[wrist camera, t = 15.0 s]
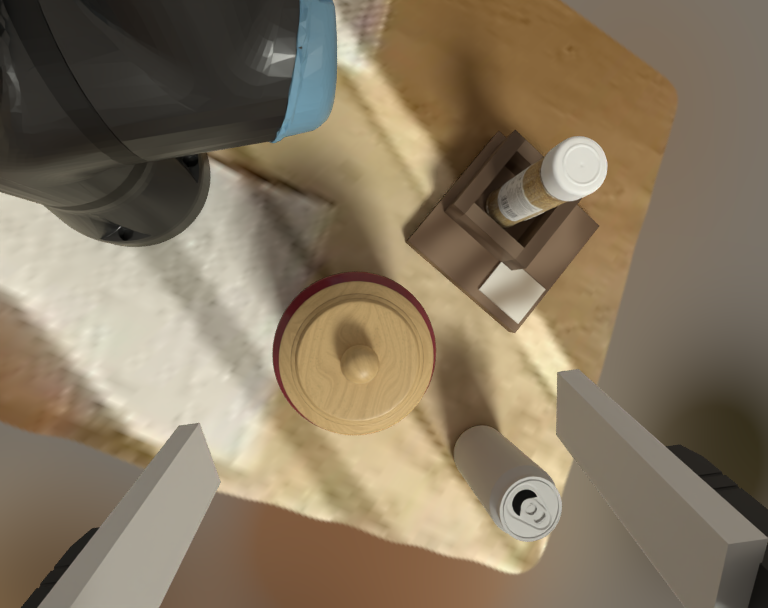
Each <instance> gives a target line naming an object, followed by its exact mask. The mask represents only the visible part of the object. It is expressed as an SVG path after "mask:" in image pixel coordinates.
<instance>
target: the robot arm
mask: <svg viewBox="0 0 768 608" xmlns="http://www.w3.org/2000/svg"><path fill="white" fill-rule="evenodd" d="M336 79H337V32H336V15H335V6H334V3H333V1H332V0H0V192H2V193H5V194H9V195H12V196H15V197H19V198H22V199H25V200H29V201H32V202H36V203H39V204H42V205H44V206H45V207H46V208H47V209H48V210H50V211H51V212H52V213H53V214H55V215H56V216H57V217H58V218H59V219H61V220H62V221H63V222H64V223H65V224H67V225H68V226H70V227H71V228H73V229H74V230H76V231H78V232H79V233H81V234H83V235H85V236H88V237H90V238H93V239H95V240H99V241H102V242H106V243H111V244H115V245H120V246H128V247H142V246H150V245H154V244H158V243H161V242H164V241H167V240H169V239H171V238H173V237H175V236H176V235H178V234H180V233H181V232H182V231H184V230H185V229H186V228H187V227H188V226H189V225H190V224H191V223H192V222H193V221H194V220H195V219H196V217H197V216H198V215H199V213H200V212H201V210H202V208H203V206H204V204H205V201H206V199H207V196H208V192H209V186H210V166H209V160H208V157H207V153H206V152H211V151H217V150H222V149H228V148H234V147H240V146H245V145H251V144H257V143H263V142H271V143H276V142H277V141H280V140H282V139H283V138H284V137H287V136H292V135H296V134H300V133H305V132H309V131H313V130H315V129H316V128H318V127H319V126H321V125H322V123H324V122H325V121H326V120H327V119H328V117H329V115H330V113H331V110H332V107H333V103H334V98H335V90H336ZM556 435H557V436H558V438H559V439H560V440H561V442H562V443H563V444H564V446H565V447H566V449H567V450H568V451H569V453H570V454H571V455H572V457H573V458H574V459H575V461H576V462H577V463H578V465H579V466H580V467H581V469H582V470H583V471H584V472H585V474H586V475H587V477H588V478H589V479H590V481H591V482H592V483H593V484H594V486H595V488H596V489H597V490H598V492H599V493H600V494H601V496H602V497H603V498H604V500H605V501H606V502H607V504H608V505H609V506H610V508H611V509H612V510H613V512H614V513H615V514H616V516H617V517H618V518H619V520H620V521H621V522H622V524H623V525H624V526H625V528H626V529H627V531H628V532H629V533H630V535H631V536H632V537H633V538H634V540H635V541H636V543H637V544H638V545H639V547H640V548H641V549H642V551H643V552H644V553H645V555H646V556H647V557H648V559H649V560H650V561H651V563H652V564H653V566H654V567H655V568H656V569H657V571H658V572H659V574H660V575H661V576H662V577H663V579H664V580H665V582H666V583H667V584H668V586H669V587H670V588H671V590H672V591H673V592H674V594H675V595H676V596H677V598H678V599H679V600H680V602H681V603H682V605H683V606H684V607H685V608H768V509H766V508H765V507H764V506H763V505H762V504H760V503H759V502H758V501H757V500H755V499H754V498H753V497H752V496H751V495H749V494H748V493H747V492H745V491H744V490H743V489H742V488H741V489H740V488H739V487H738V485H737V484H736V483H735V482H733V481H732V480H731V479H730V478H729V477H727V476H726V475H723V474H722V472H721V471H720V470H719V469H718V468H716V467H715V466H714V465H713V464H711V463H710V462H709V461H708V460H707V459H705V458H704V457H703V456H701V455H699V454H697V453H695V452H693V451H691V450H689V449H687V448H686V447H683V446H682V445H673V446H666V447H665V446H664V445H663V444H662V443H661V442H660V441H659V440H657V439H656V438H655V437H654V436H653V435H652V434H650V433H649V432H648V431H647V430H646V429H645V428H644V427H643V426H642V425H640V424H639V423H638V422H637V421H636V420H635V419H634V418H632V416H630V415H629V414H628V413H627V412H626V411H625V410H624V409H623V408H621V407H620V406H619V405H618V404H617V403H616V402H615V401H613V399H611V398H610V397H609V396H608V395H607V394H606V393H605V392H604V391H602V390H601V389H600V388H599V387H598V386H597V385H596V384H595V383H593V382H592V381H591V380H590V379H589V378H588V377H587V376H586V375H584V374H583V373H582V372H581V371H580V370H579V369H575V370H568V371H561V372H557V422H556ZM220 483H221V482H220V479H219V476H218V473H217V470H216V468H215V465H214V462H213V459H212V456H211V453H210V451H209V448H208V445H207V442H206V439H205V437H204V434H203V431H202V428H201V425H200V423H195V424H188V425H181V426H178V428H177V429H176V430H175V431H174V433H173V434H172V435H171V437H170V438H169V439H168V440H167V442H166V443H165V444H164V446H163V447H162V448H161V449H160V451H159V452H158V453H157V455H156V456H155V457H154V458H153V460H152V461H151V462H150V464H149V465H148V466H147V467H146V469H145V470H144V471H143V473H142V474H141V475H140V476H139V478H138V479H137V480H136V482H135V483H134V484H133V485H132V487H131V488H130V489H129V491H128V492H127V493H126V494H125V496H124V497H123V498H122V500H121V501H120V502H119V503H118V505H117V506H116V507H115V509H114V510H113V511H112V512H111V514H110V515H109V516H108V518H107V519H106V520H105V521H104V523H103V524H102V525H101V527H99V528H92V529H91V530H90V531H88V532H87V533H86V534H85V535H84V536H83V537H82V538H80V539H79V540H78V541H77V542H76V543H74V544H73V545H72V546H71V547H70V548H69V550H68V551H67V552H66V553H65V554H64V555H63V557H62V558H61V559H60V560H59V562H58V563H57V564H56V565H55V567H54V570H53V571H50V573H49V574H48V575H47V577H46V578H45V579H44V580H43V581H42V582H41V584H40V587H39V588H37V589H36V590H35V591H34V592H33V593H32V595H31V596H30V597H29V598H28V600H27V601H26V602H25V603H24V604H23V606H22V607H21V608H159V606H160V604H161V602H162V600H163V598H164V596H165V594H166V592H167V590H168V588H169V586H170V584H171V582H172V580H173V578H174V576H175V574H176V572H177V570H178V568H179V566H180V564H181V562H182V560H183V557H184V556H185V554H186V552H187V549H188V548H189V546H190V543H191V541H192V539H193V537H194V535H195V533H196V531H197V529H198V527H199V525H200V523H201V521H202V519H203V517H204V515H205V513H206V511H207V509H208V507H209V505H210V503H211V501H212V499H213V497H214V495H215V493H216V491H217V489H218V487H219V485H220Z"/></svg>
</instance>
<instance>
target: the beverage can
mask: <svg viewBox="0 0 768 608" xmlns="http://www.w3.org/2000/svg"><path fill="white" fill-rule="evenodd" d="M454 461H455V464H456V466H457V468H458V470H459V471H460V473H461V474H462V476H463V477H464V479H465V480H466V482H467V483H468V484H469V486H470V487H471V489H472V490H473V492H474V493H475V495H476V496H477V498H478V499H479V500H480V502H481V503H482V505H483V506H484V508H485V509H486V511H487V512H488V514H489V515H490V516H491V518H492V519H493V521H494V522H495V524H496V525H497V526H498V527H499V528H500V529H501V530H502V531H504V532H506V533H508V534H509V535H511V536H512V537H513V538H515V539H517V540H520V541H526V542H530V541H536V540H539V539H541V538H543V537H545V536H547V535H548V534H549V533H550V532H551V531H552V530H553V529H554V528H555V526H556V525H557V523H558V521H559V519H560V515H561V511H562V501H561V497H560V494H559V492H558V490H557V488H556V487H555V484H554V482H553V480H552V479H551V477H550V476H549V475H548V474H547V473H546V472H545V471H544V470H543V469H542V468H540V467H539V466H538V465H537V464H536V463H535V462H533V461H532V460H531V459H530V458H529V457H528V456H526V455H525V454H524V453H523V452H522V451H521V450H519V449H518V448H517V447H516V446H515V445H514V444H512V443H511V442H510V441H509V440H508V439H507V438H505V437H504V436H503V435H502V434H501V433H500V432H498V431H497V430H496V429H494V428H492V427H489V426H484V425H479V426H475V427H471V428H469V429H468V430H466V431H465V432H464V433H462V434H461V436H460V437H459V438H458V440H457V442H456V444H455V448H454Z"/></svg>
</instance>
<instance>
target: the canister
mask: <svg viewBox="0 0 768 608" xmlns="http://www.w3.org/2000/svg"><path fill="white" fill-rule="evenodd" d="M435 361H436V342H435V336H434V331H433V328H432V325H431V322H430V320H429V317H428V315H427V313H426V312H425V310H424V308H423V307H422V305H421V304H420V303H419V301H418V300H417V299H416V298H415V297H414V296H413V295H412V294H411V293H410V292H409V291H408V290H407V289H405V288H404V287H403V286H401V285H400V284H398V283H396V282H395V281H393V280H391V279H388V278H386V277H384V276H381V275H377V274H373V273H368V272H344V273H338V274H334V275H331V276H328V277H325V278H323V279H321V280H319V281H316V282H315V283H313V284H311V285H310V286H308V287H307V288H306V289H304V290H303V291H302V292H301V293H300V294H299V295H298V296H296V297H295V299H294V300H293V301H292V302H291V303H290V305H289V306H288V307H287V309H286V310H285V312H284V313H283V315H282V317H281V319H280V322H279V324H278V326H277V329H276V333H275V337H274V342H273V367H274V372H275V376H276V379H277V382H278V385H279V387H280V389H281V391H282V393H283V395H284V396H285V398H286V400H287V401H288V402H289V404H290V405H291V406H292V407H293V408H294V409H295V411H297V412H298V413H299V414H300V415H301V416H302V417H303V418H305V419H306V420H308V421H309V422H311V423H312V424H314V425H316V426H318V427H320V428H323V429H325V430H328V431H331V432H334V433H338V434H344V435H365V434H371V433H375V432H379V431H381V430H384V429H386V428H389V427H391V426H392V425H394V424H396V423H397V422H399V421H400V420H402V419H403V418H404V417H406V416H407V415H408V414H409V413H410V412H411V411H412V410H413V409H414V408H415V406H416V405H417V404H418V403H419V401H420V400H421V398H422V397H423V395H424V393H425V392H426V390H427V388H428V386H429V383H430V381H431V378H432V375H433V372H434V367H435Z"/></svg>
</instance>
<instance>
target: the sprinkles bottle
mask: <svg viewBox="0 0 768 608" xmlns="http://www.w3.org/2000/svg"><path fill="white" fill-rule="evenodd" d="M606 173H607V160H606V156H605V154H604V152H603V150H602V148H601V147H600V146H599V145H598V144H597V143H596V142H595V141H593V140H592V139H590V138H587V137H583V136H575V137H571V138H568V139H566V140H564V141H563V142H561V143H560V144H558V145H557V146H555V147H554V148H552V149H551V150H550V151H549V152H548V153H547V154H546V156H545V157H543V158H542V159H541V160H539V161H538V162H536V163H534V164H532V165H531V166H529V167H528V168H527V169H525V170H524V171H522V172H521V173H519V174H518V175H516V176H515V177H514V178H512V179H511V180H509V181H508V182H506V183H505V184H504V185H503V186H502V187H500V188H498V189H496V190H494V191H493V192H492V193H490V195H489V196H488V198H487V200H486V204H485V211H486V214H487V215H488V216H490V217H491V218H492V219H493V220H494V221H495V222H496V223H497V224H498V225H499V226H501V227H502V228H509V227H512V226H514V225H516V224H517V223H519V222H521V221H525V220H528V219H530V218H533V217H535V216H537V215H540V214H542V213H544V212H545V211H547V210H550V209H552V208H554V207H556V206H559V205H560V204H563V203H565V202H568V201H574V200H578V199H580V198H582V197H585V196H587V195H589V194H591V193H593V192H594V191H596V190H597V189H598V188H599V187H600V186H601V184H602V183H603V181H604V179H605V177H606Z"/></svg>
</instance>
